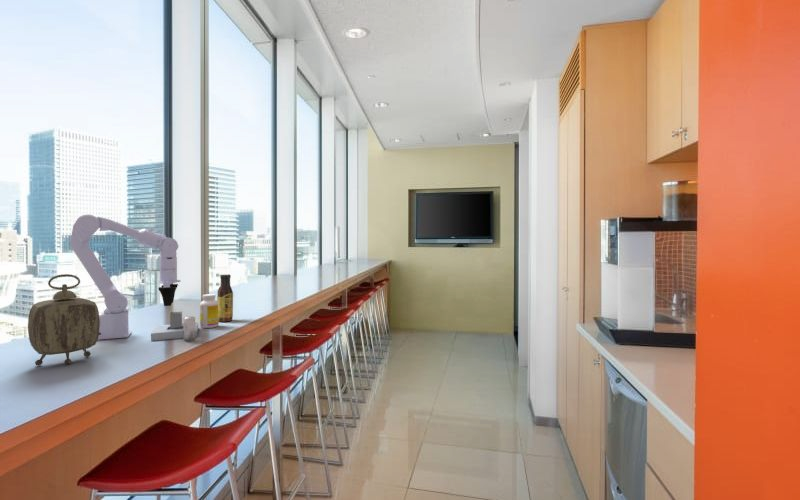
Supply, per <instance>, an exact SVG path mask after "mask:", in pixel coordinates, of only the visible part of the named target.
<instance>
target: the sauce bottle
mask: <svg viewBox="0 0 800 500" xmlns="http://www.w3.org/2000/svg"><path fill="white" fill-rule="evenodd" d="M219 277H220V286H219V288H218V289H217V297H216V298H217V299H216V301H217V302H218V318H219V322H220V323H221V322H222V323H225V322H231V321H232V320H233V317H234V291H233V289H232V287H231V274H230V273H229V274H227V273H226V274H225V273H223V274H220V276H219Z"/></svg>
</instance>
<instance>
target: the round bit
mask: <svg viewBox="0 0 800 500" xmlns="http://www.w3.org/2000/svg"><path fill="white" fill-rule="evenodd" d="M182 323H183V328H184V338H183V342H184V343H190V342H194V341H196V337H195V323H196V316H184V317H182Z"/></svg>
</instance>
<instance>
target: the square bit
mask: <svg viewBox="0 0 800 500" xmlns="http://www.w3.org/2000/svg"><path fill="white" fill-rule="evenodd" d="M169 318H170V319H169V321H170V322H169V324H170V329H182V323H183V311H171V312H170V314H169Z"/></svg>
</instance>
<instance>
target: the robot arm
mask: <svg viewBox="0 0 800 500" xmlns="http://www.w3.org/2000/svg"><path fill="white" fill-rule="evenodd" d="M98 230H99V231H100V232H105V231H106V232H107V231H112V232H115V233H118V234H120V235H124V236H128V237H131V238H133V239H135V240H136V243H137V244H140V245H141V246H146V247H148V248H150V249H151V248H152V249H155V250H159V281H158V283H159V284H161V287H160V286H159V287H158V291H159V292H160V295H161V297H162V302H163V306H164V307H171V306H172V303H174V299H175V295H176V294H175V293H176V291H177V288H178V286H179V284H178V283H180V282H181V279H178V257H177V254H178V253H177V251H178V249H179V244H178V241H177V240H176V239H174V238H172V237H167V235H166V234H162V233H161V234H160V233H157V232H155V231H153V229H152V228H148V229H147V228H142V229H141V230H138V229H136V228H133V227H131V226H129V225H128V226H127V225H125V224H123V223H120V222H119V221H114V220H112V219H109V218H105V217H100V216H95V215H93V214H87V213H85V214H83V215H80V216H79V217H78V218H77V219H76V220H75V223H74V224H73V225H72V230H71V235H70V241H69V245H70V248H71V249H72V250H73V252H74V254H75V255H76V256H77V259H78V260H79V261H80V263H81V264H82V266H83V267H84V269H85V270H86V272H87V274H88V275H89V276H90V278H91V279H92V281H93V283H94V284H95V286H96V287H97V288H98V290H99V292H100V293H101V295H102V296H103V298H104V304H105V307H106V308H105V309H104V310H103V312H99V319H100V328H99V336H98V340H97V341H99V340H111V339H113V340H114V339H122V338H128V337H129V336H130V335H131V334H132V332H133V331H129V309H128V308H127V306H128V304H129V300H128V298H127V297H126V296H125V294H124V293H122V292H121V291H119V289H117V287H116V286H115V284H114V282H113V281H112V280H111V278H110V276H109V275H108V273H107V271H106V270H105V268H104V267H103V265H102V264H101V262H100V261H99V259H98V258H97V256H96V255H95V253H94V252H93V250H92V248H91V247H90V245H89V243H90V242H91V240H92V239H91V238H92V236H93V235H94V234H95V233H96V232H97V231H98Z"/></svg>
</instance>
